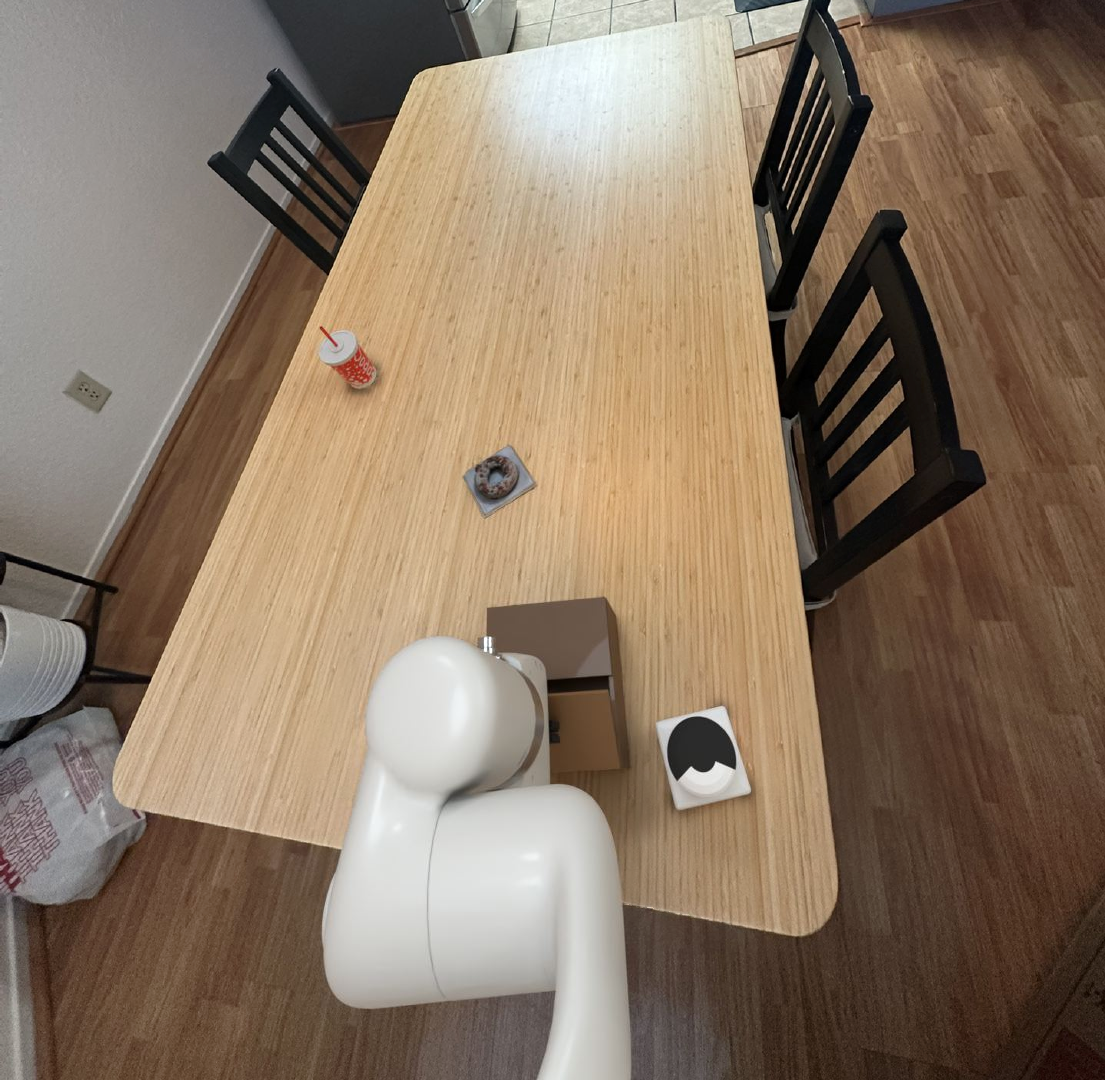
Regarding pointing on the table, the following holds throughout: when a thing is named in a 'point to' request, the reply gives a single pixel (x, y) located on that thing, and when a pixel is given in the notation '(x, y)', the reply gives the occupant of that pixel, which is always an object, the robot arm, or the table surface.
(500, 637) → the carton
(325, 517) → the table surface
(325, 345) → the beverage cup
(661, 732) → the medicine bottle
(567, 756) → the front flap
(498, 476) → the donut
